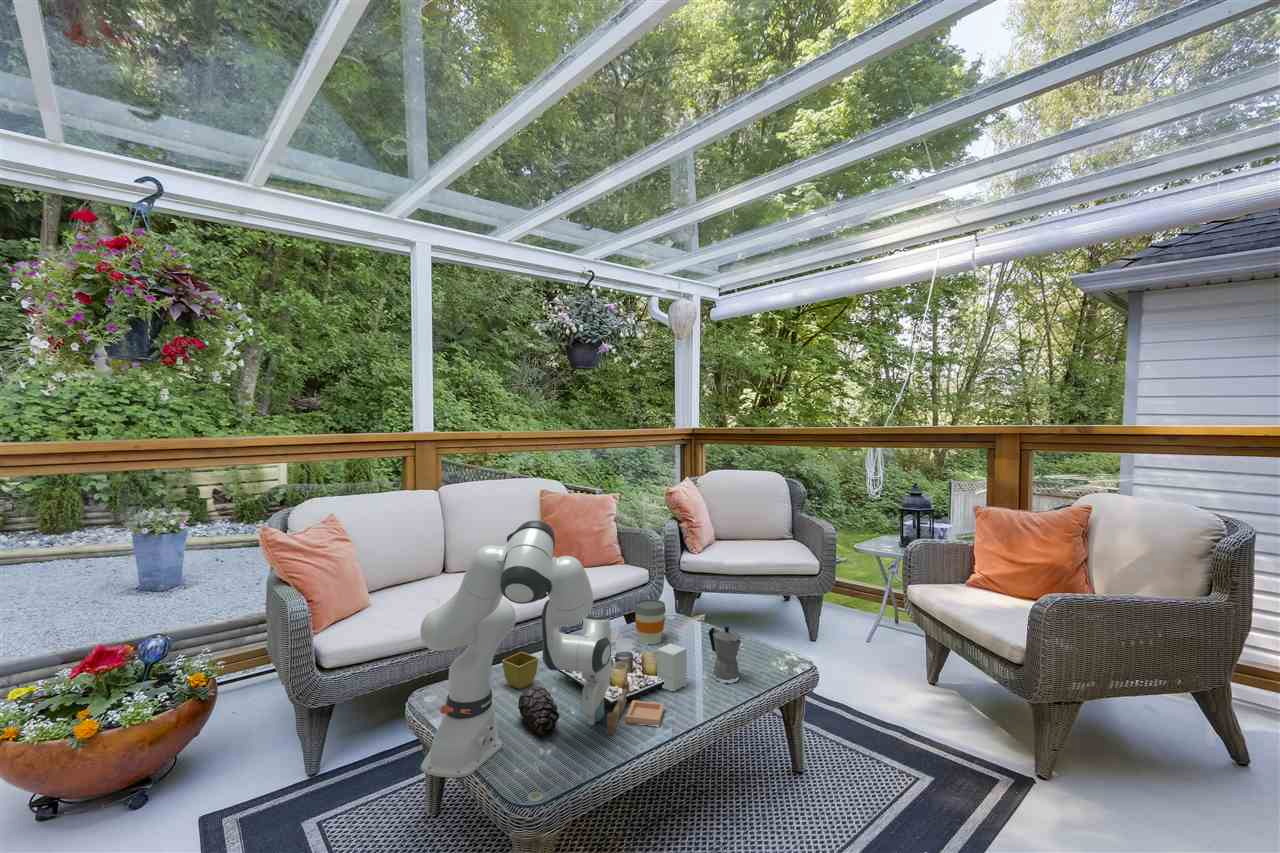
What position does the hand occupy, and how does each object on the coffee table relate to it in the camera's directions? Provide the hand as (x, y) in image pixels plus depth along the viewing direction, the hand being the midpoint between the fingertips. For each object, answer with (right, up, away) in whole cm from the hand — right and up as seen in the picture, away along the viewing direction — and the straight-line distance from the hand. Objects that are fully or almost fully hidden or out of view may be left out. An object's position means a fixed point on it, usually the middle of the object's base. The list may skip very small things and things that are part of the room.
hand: (596, 715), depth 176 cm
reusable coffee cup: (+17, -1, +62) cm, 64 cm away
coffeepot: (+42, -1, +30) cm, 52 cm away
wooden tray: (+15, -2, +2) cm, 15 cm away
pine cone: (-16, -2, -3) cm, 16 cm away
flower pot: (-27, -1, +23) cm, 35 cm away
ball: (0, -2, 0) cm, 2 cm away
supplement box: (+24, -2, +23) cm, 33 cm away
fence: (+7, -2, +3) cm, 7 cm away
